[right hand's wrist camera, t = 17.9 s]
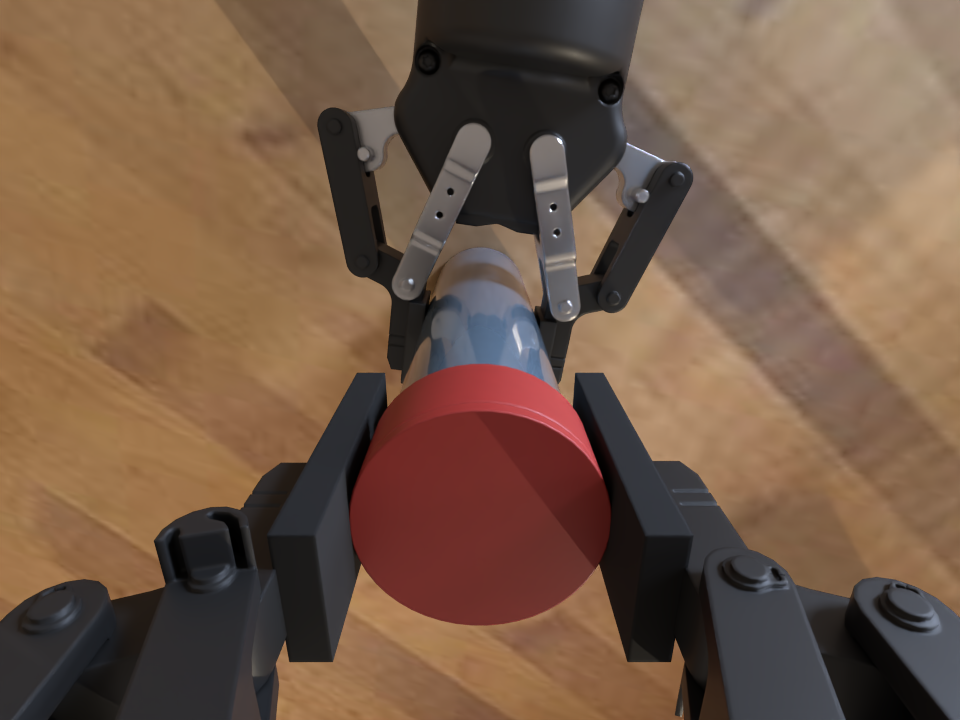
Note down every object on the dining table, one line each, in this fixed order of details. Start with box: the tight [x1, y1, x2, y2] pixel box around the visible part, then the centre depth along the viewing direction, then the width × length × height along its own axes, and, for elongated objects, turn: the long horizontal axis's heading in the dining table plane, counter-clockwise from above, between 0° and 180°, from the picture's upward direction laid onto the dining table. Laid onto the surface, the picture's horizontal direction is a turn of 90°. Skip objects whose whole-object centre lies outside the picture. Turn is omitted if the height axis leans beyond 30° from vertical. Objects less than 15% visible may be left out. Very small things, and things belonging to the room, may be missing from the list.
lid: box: [349, 364, 611, 625], centre depth 12 cm, size 5×5×2 cm
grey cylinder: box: [400, 247, 561, 394], centre depth 20 cm, size 5×5×18 cm
